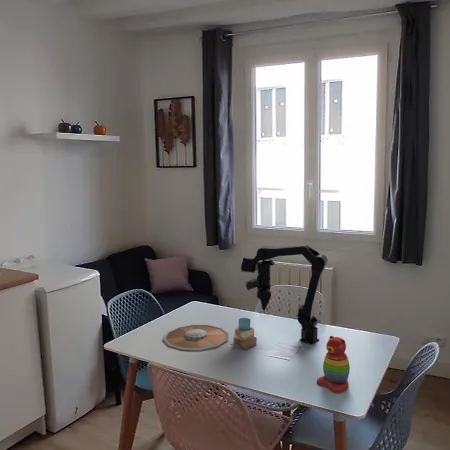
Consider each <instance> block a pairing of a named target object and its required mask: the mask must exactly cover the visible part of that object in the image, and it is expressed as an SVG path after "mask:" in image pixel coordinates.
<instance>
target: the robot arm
mask: <svg viewBox="0 0 450 450" xmlns="http://www.w3.org/2000/svg"><path fill="white" fill-rule="evenodd" d="M298 255H300V256H301V255H302V256H303V257H304V258H305V260H307V262H308V263H310V264H311V267H310V271H311V276H310V280H309V283H308V284H309V285H308V289H307V292H306V295H305V299H304V300H305V301H304V304H301V305H300V306H299V307H298V313H297V315H296V317H297V321H298V323H299V324H300V326H301V331H300V332H301V333H300V338H299V341H300V342H304V343H307V344H310V345H313V344H315V343H317V342H319V341H320V338H319V337H318V332H319V331H318V330H319V328H318V327H317V325H318V323H319V320H318V319H317V317H315V315H314V314H315V313H314V312H315V308H314V304H315V300H316V296H317V292H318V288H319V285H320V281H321V276H322V274H323V273H324V271H325V268H326V267H327V264H328V261H329V260H328V258H327V256H326V255H325V254H322V253H319V252H318V251H317V250H315V249H314V248H312V247H311V246H309V245H308V244H304V243H303V244H300V245H299V244H298V245H290V246H278V247H277V246H272V245H263V246H261V247H260V248H258V249H257V251H256V255H255V256H254V257H252V258H251V257H247V256H244V257H243V258H242V262H241V265H240V270H241V272H242V273H251V274H255V273H256V272H257V276H256V278H252V279H249V280H246V281H245V282H244V283H245V288H246V290H247V291H250V290H252V289H254V288H255V289H257V291H256V298H257V299H259V300H260V303H261V304H260V305H261V309H262V311H266V308H267V306H268V305H269V303H270V300H271V298H272V291H271V266H274V265H276V262H274V260H273V259H274V258H278V257H288V256H298Z"/></svg>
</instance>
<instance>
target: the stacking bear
mask: <svg viewBox="0 0 450 450" xmlns="http://www.w3.org/2000/svg"><path fill="white" fill-rule="evenodd" d="M326 350H327V352H326V354H325V356H324V359H323V365H322V367H323V368H322V371H323V375H321V376H320V377H318V378H317V380H316V384H317V385H319V386H321V387H326V388H328V389H329V390H330V392H332V393H334V394H340V393H344V392H345V391H346V390H348V388H349V385H350V384H349V381H348V380H349V375H350V371H351V370H350V369H351V366H350V361H349V357H348V355H347V354H346V350H347V344H346V340H345V339H343V338H342V337H339V336H335V337H334V335H330V336H329V339H328V341H327V342H326Z"/></svg>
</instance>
